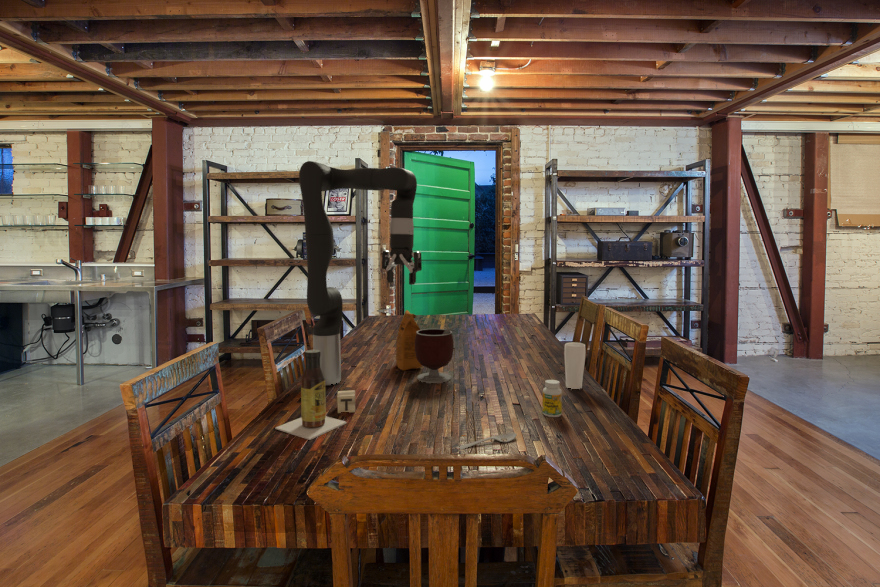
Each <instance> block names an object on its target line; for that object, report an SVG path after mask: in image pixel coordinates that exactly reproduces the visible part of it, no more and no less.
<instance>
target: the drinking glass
mask: <svg viewBox="0 0 880 587" xmlns="http://www.w3.org/2000/svg"><path fill="white" fill-rule="evenodd" d="M563 351H564V370H565V372H564V373H565V387H566V389H568V388H571V389H570V390H572V389H579V390H581V389H582V388H583V378H584V369H585V362H586V344H585V343H582V342H577V341H575V342H572V341H571V342H566V343H565V344H564V350H563ZM580 388H581V389H580Z"/></svg>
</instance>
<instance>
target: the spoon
mask: <svg viewBox="0 0 880 587" xmlns="http://www.w3.org/2000/svg"><path fill="white" fill-rule="evenodd" d="M516 437H517V433H516V432H507V433H506V432H505V433H502V434H497V435H493V436H490V437H486V438H483V439H480V440H476V441H473V442H470V443H465V444H462V445H459V446H460V447H458V446H456V447H457V448H460V449H462V450H465V448H466V449H469V448H471V447H472V446H473V447H474V446H476V445H477V444H481V443H483V442H487V441H489V440H496V441H498V442H502V443H509V442H511V441H513V440H515V439H516ZM502 439H506V440H502ZM468 447H469V448H468Z"/></svg>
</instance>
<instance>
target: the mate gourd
mask: <svg viewBox="0 0 880 587" xmlns="http://www.w3.org/2000/svg"><path fill="white" fill-rule="evenodd" d="M456 328H457V329H458V325H457V324H456V325H453V326H451V327H449V328H447V329H446V328H445V329H443V328H426V329H425V328H424V329H420V330H419V331H417V332H416V337H415V353H416V358H417V360H418V361H419V363H420V364H421V365H422V367H425V368H427V369H429V372H423V373H421V374H418V375H417V376H416V379H418V380H419V381H418V380H417V381H418V382H420V381H421V382H420V383H423V382H426V383H425V384H431V383H437V384H444V383H443V382H445V383H448V382H450V381H451V380H452V375H451V374H449V373H445V372H440V371H439V369H441V368H443V367H445V366H447V365H448V364H449V363H450V362H451V360H452V358H453V355H454V354H453V353H454V347H455V346H454V336H453V329H456ZM449 380H450V381H449ZM447 381H448V382H447Z"/></svg>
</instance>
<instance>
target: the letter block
mask: <svg viewBox="0 0 880 587" xmlns="http://www.w3.org/2000/svg"><path fill="white" fill-rule="evenodd" d="M336 398H337V399H336V400H337V414H342V413H341V412H349V413H356V390H355V389H354V390H353V389H352V390H339V391H337V397H336Z"/></svg>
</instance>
